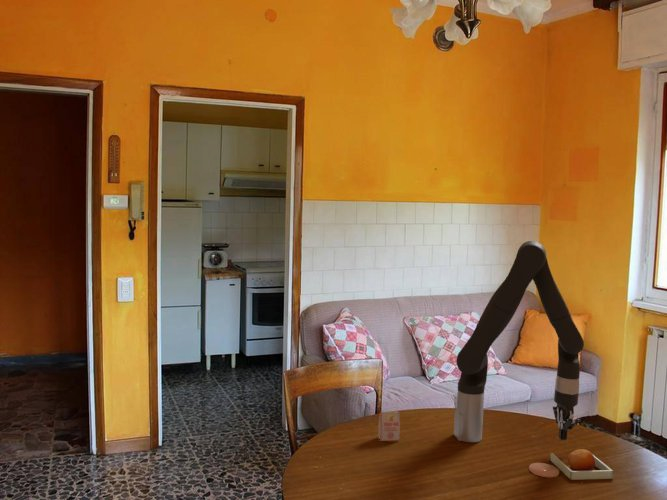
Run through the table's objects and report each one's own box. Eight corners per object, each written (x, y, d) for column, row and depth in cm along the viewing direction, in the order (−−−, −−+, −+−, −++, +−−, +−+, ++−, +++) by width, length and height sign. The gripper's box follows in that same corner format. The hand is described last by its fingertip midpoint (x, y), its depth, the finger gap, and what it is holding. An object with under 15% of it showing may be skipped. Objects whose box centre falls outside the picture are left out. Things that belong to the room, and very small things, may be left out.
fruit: (602, 475, 190) (589, 451, 191) (578, 484, 192) (565, 461, 193) (599, 464, 198) (586, 441, 198) (575, 473, 200) (563, 451, 201)
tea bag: (378, 437, 218) (378, 410, 217) (396, 436, 219) (397, 409, 218) (380, 441, 214) (381, 413, 213) (399, 441, 215) (400, 413, 214)
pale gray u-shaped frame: (570, 479, 189) (571, 471, 189) (550, 460, 203) (550, 453, 203) (612, 478, 191) (613, 470, 191) (589, 459, 204) (590, 452, 204)
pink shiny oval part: (536, 477, 190) (536, 476, 190) (524, 464, 199) (524, 463, 199) (564, 477, 191) (564, 475, 191) (550, 464, 200) (551, 462, 200)
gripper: (547, 383, 213) (543, 431, 215) (565, 396, 200) (561, 447, 202) (567, 383, 214) (563, 431, 216) (587, 396, 201) (583, 447, 203)
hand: (562, 439), depth 209 cm, fingers closed
